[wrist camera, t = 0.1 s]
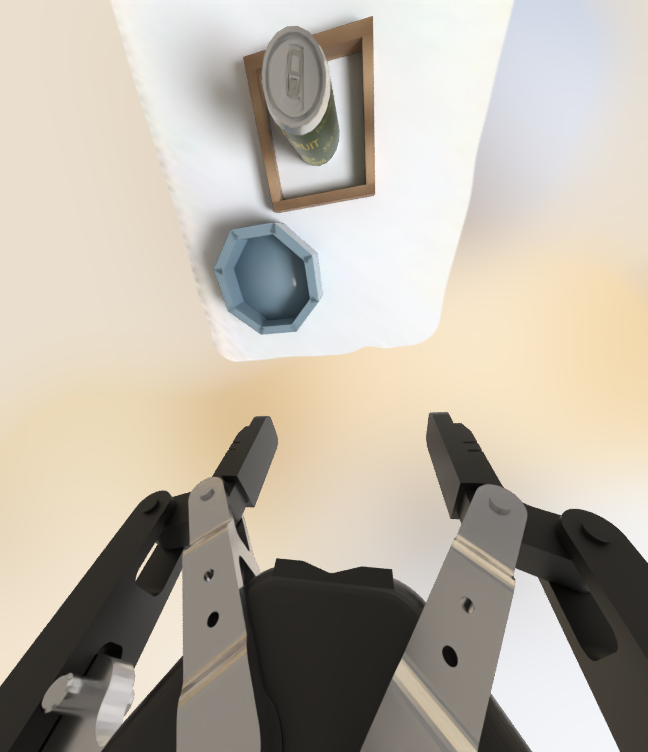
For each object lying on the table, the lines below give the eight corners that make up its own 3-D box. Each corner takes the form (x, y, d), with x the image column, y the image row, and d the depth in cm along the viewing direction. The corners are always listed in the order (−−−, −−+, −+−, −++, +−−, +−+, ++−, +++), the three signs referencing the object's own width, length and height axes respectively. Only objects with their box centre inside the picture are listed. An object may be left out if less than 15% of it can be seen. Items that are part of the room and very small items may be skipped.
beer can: (298, 99, 26) (260, 11, 16) (344, 109, 26) (336, 29, 16) (293, 162, 29) (257, 123, 19) (334, 172, 29) (321, 138, 18)
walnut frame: (250, 68, 25) (243, 57, 23) (371, 32, 23) (372, 16, 21) (278, 212, 32) (274, 211, 30) (374, 195, 29) (375, 193, 28)
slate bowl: (218, 234, 34) (201, 234, 30) (313, 218, 31) (306, 216, 28) (248, 327, 41) (236, 336, 38) (326, 320, 39) (322, 329, 35)
